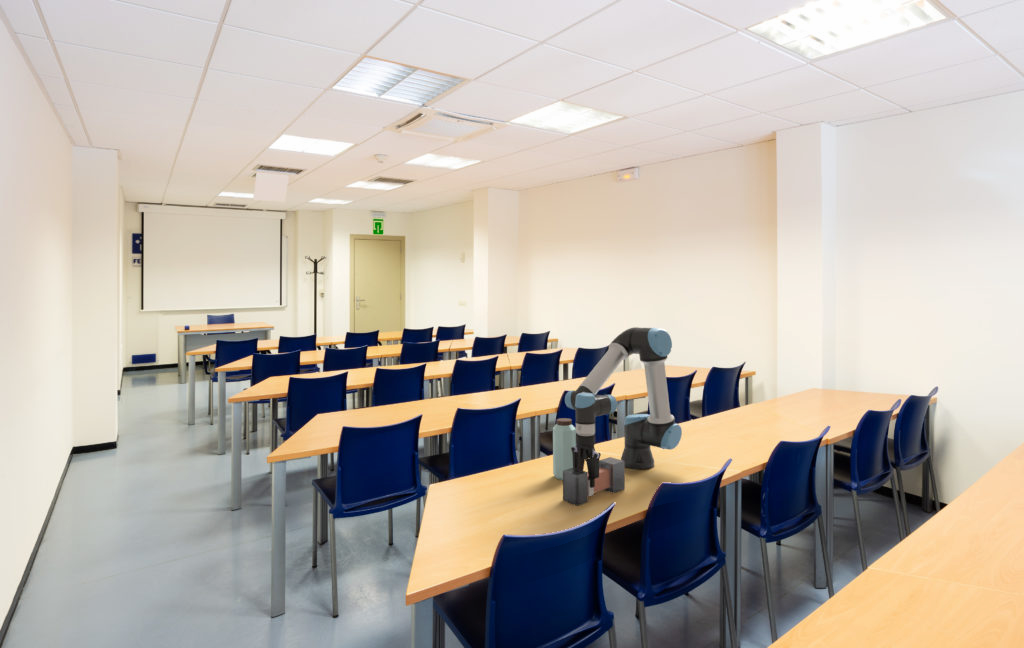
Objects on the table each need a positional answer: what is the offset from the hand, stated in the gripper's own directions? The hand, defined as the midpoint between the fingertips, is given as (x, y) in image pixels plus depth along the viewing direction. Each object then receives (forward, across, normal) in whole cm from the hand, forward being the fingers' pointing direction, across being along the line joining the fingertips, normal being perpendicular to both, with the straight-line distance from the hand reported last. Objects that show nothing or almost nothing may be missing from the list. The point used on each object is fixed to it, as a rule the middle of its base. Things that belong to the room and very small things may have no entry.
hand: (585, 493), depth 211 cm
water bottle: (+2, -23, +11) cm, 26 cm away
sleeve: (+2, 0, +15) cm, 15 cm away
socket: (+2, 0, -6) cm, 6 cm away
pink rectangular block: (0, 0, +2) cm, 3 cm away
